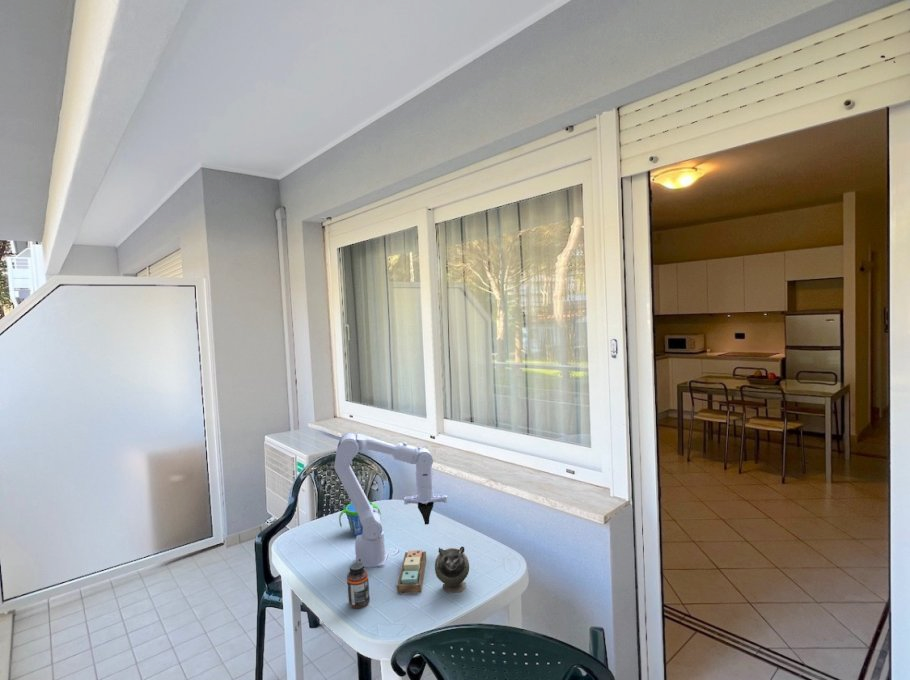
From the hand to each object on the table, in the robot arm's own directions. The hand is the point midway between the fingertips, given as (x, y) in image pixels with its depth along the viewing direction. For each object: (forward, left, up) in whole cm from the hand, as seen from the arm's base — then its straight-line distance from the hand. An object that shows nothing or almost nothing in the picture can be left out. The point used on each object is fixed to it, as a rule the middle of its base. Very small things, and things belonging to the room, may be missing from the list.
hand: (427, 523), depth 162 cm
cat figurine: (+9, -21, -11) cm, 25 cm away
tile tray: (-4, -14, -10) cm, 18 cm away
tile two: (-4, -20, -10) cm, 22 cm away
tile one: (-4, -13, -9) cm, 17 cm away
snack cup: (-27, +18, -11) cm, 34 cm away
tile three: (-4, -7, -10) cm, 13 cm away
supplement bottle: (-18, -27, -11) cm, 34 cm away
